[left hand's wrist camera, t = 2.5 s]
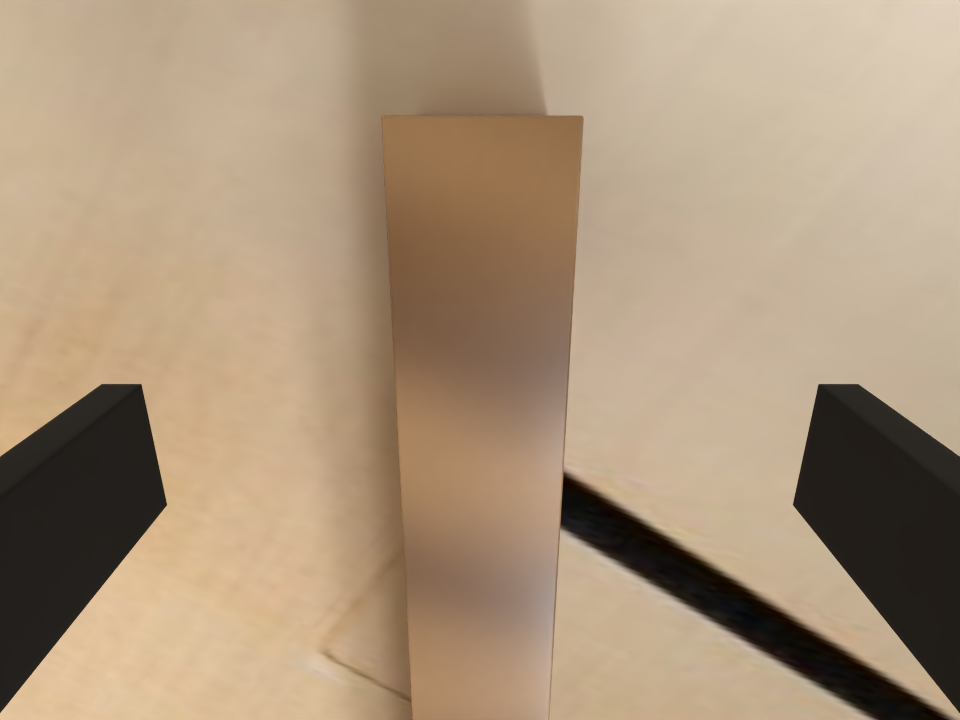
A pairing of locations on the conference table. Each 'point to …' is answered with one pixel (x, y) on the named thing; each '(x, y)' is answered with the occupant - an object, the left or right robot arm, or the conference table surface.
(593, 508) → the conference table surface
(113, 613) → the conference table surface
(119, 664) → the conference table surface
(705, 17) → the conference table surface
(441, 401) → the beam
